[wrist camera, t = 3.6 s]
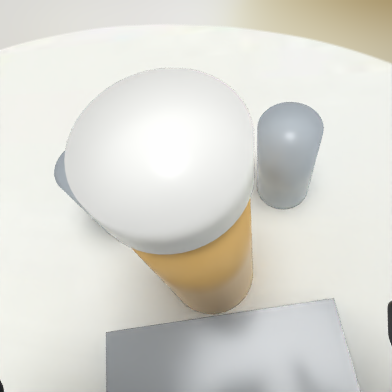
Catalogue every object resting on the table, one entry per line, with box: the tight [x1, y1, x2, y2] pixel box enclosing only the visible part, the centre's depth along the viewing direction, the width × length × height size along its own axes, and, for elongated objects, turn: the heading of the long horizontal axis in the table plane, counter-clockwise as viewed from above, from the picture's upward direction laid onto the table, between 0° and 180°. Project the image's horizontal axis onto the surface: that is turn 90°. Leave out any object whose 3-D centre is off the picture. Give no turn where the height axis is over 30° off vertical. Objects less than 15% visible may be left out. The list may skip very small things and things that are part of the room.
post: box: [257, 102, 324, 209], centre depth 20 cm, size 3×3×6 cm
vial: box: [64, 68, 255, 314], centre depth 15 cm, size 5×5×13 cm
